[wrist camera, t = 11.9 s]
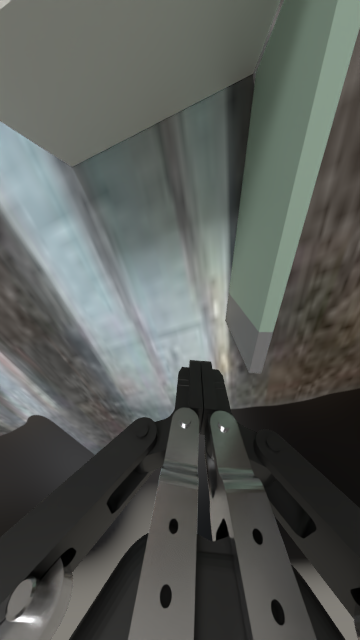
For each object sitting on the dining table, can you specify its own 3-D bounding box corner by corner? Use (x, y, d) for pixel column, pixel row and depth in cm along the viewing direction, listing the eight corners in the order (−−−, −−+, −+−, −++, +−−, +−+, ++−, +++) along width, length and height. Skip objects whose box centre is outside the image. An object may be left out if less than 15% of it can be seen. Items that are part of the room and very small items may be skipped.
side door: (255, 73, 12) (423, -359, 4) (268, 71, 12) (472, -370, 3) (225, 320, 22) (249, 372, 13) (232, 320, 22) (261, 373, 13)
